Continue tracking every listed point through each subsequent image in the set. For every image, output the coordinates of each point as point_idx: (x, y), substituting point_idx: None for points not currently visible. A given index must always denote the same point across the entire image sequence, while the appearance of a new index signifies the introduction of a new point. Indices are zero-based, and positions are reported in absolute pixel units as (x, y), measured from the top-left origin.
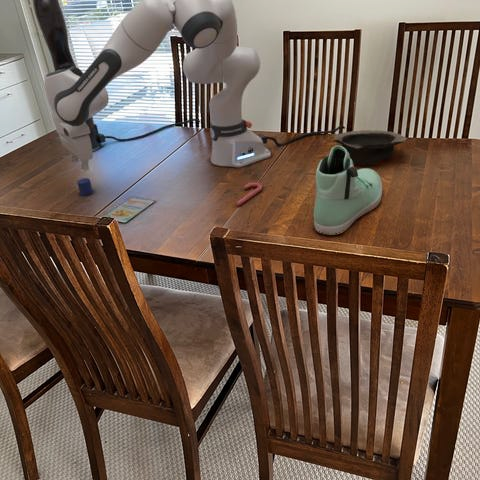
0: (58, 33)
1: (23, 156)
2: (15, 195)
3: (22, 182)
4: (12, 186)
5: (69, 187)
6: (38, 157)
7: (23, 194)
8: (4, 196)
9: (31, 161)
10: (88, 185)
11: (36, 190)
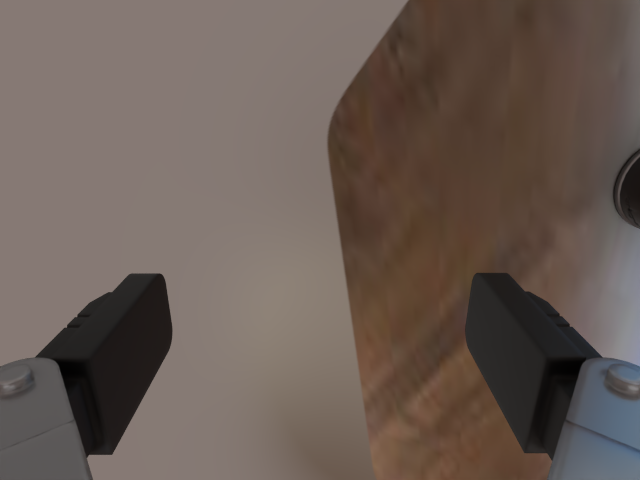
0: None
1: (403, 151)
2: (398, 454)
3: (411, 387)
4: (385, 402)
5: (533, 459)
6: (462, 191)
7: (417, 456)
8: (370, 450)
9: (435, 224)
10: None
11: (450, 446)
